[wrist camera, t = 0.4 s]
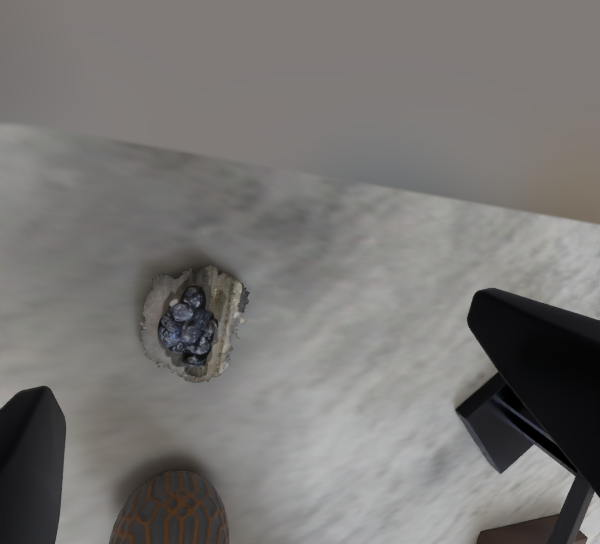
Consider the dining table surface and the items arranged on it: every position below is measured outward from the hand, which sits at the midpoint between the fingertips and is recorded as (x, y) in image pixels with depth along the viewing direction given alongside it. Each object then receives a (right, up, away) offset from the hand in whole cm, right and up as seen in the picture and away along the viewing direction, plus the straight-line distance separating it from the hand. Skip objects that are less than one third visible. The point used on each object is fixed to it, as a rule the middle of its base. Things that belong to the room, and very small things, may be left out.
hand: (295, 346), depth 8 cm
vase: (-9, -14, +18) cm, 24 cm away
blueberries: (-6, -2, +15) cm, 17 cm away
